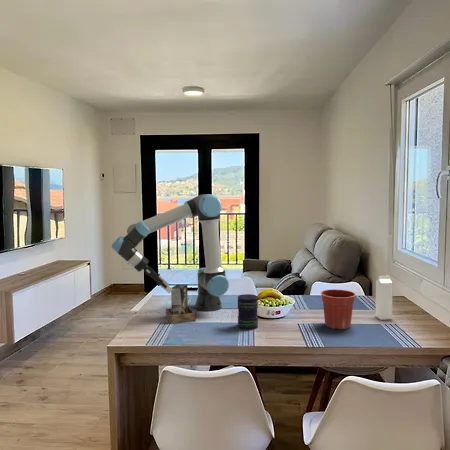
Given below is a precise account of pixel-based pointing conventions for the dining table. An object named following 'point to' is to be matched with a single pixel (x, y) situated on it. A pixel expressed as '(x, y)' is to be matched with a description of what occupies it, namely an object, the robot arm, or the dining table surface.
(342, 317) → the flower pot
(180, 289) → the coffee box
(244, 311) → the storage jar
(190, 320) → the wooden tray
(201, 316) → the dining table surface
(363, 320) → the dining table surface
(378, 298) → the milk
